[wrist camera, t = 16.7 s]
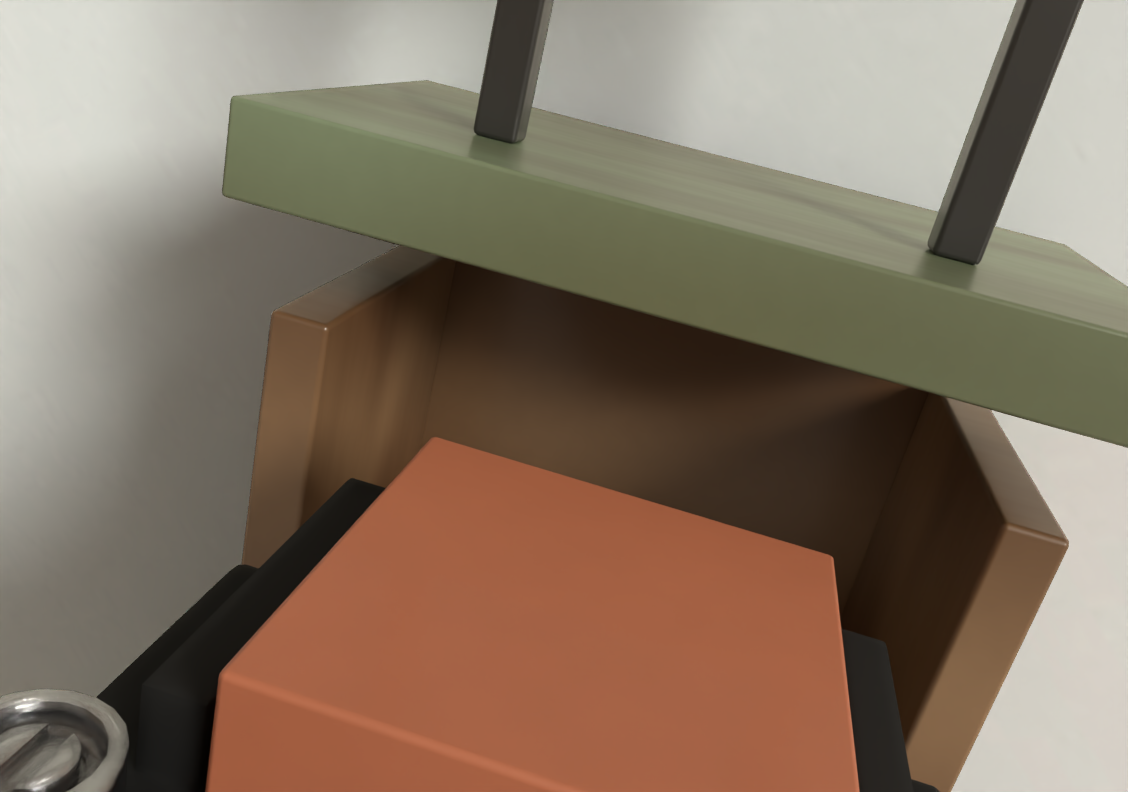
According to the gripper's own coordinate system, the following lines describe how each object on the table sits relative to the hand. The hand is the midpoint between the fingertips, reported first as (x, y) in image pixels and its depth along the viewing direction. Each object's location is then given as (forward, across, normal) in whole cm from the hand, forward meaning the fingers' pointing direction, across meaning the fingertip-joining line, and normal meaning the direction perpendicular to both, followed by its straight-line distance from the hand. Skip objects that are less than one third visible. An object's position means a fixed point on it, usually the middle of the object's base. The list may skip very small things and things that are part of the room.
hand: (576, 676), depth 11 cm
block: (0, 0, 0) cm, 0 cm away
